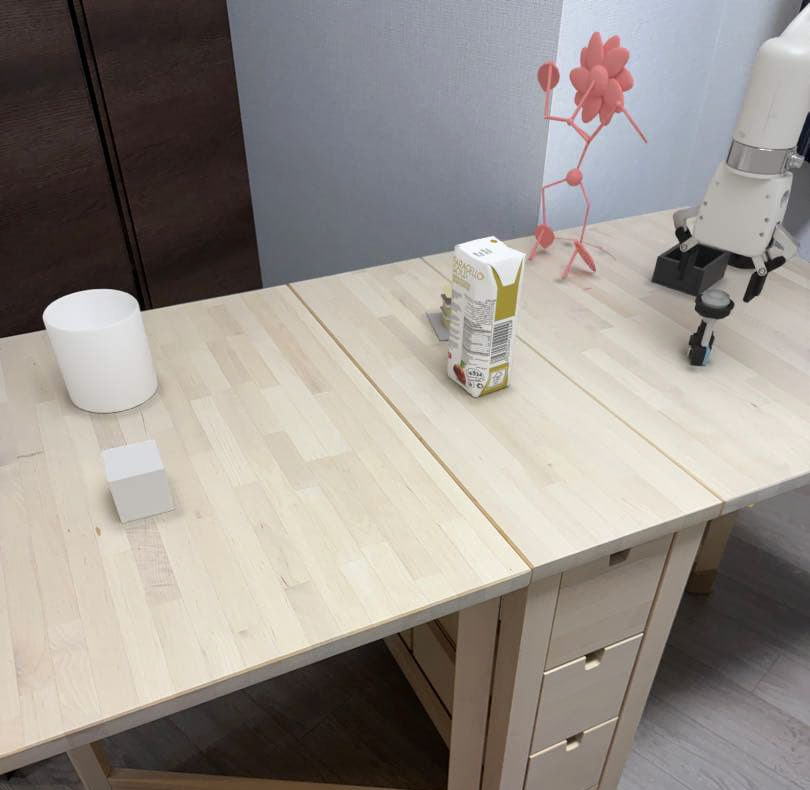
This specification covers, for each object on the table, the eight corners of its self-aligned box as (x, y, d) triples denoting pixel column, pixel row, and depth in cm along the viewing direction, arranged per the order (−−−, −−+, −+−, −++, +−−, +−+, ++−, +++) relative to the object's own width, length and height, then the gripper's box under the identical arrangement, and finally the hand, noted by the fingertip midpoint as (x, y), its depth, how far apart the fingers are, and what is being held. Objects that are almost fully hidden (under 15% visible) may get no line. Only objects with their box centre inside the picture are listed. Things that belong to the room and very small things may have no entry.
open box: (723, 276, 132) (731, 251, 129) (697, 296, 126) (704, 271, 123) (678, 263, 136) (685, 238, 133) (651, 281, 130) (657, 256, 127)
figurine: (593, 297, 126) (641, 55, 101) (497, 245, 141) (519, 23, 117) (656, 276, 132) (715, 43, 108) (558, 228, 147) (590, 15, 123)
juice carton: (474, 403, 102) (486, 268, 89) (439, 374, 107) (445, 243, 94) (517, 387, 105) (535, 255, 92) (481, 360, 110) (493, 231, 97)
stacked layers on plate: (439, 340, 114) (441, 307, 111) (426, 313, 121) (427, 281, 117) (502, 334, 116) (505, 301, 112) (485, 308, 122) (488, 276, 118)
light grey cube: (175, 509, 85) (164, 468, 81) (121, 523, 84) (107, 482, 79) (165, 479, 89) (154, 438, 85) (114, 491, 88) (100, 450, 83)
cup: (121, 359, 109) (99, 280, 101) (175, 385, 104) (157, 304, 96) (52, 394, 102) (22, 313, 94) (107, 423, 97) (81, 340, 89)
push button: (674, 343, 115) (693, 281, 108) (710, 346, 114) (730, 283, 107) (681, 365, 110) (700, 302, 103) (718, 368, 109) (740, 304, 103)
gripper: (839, 166, 91) (786, 299, 103) (706, 136, 99) (671, 262, 111) (818, 180, 87) (765, 317, 98) (681, 148, 95) (647, 278, 106)
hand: (715, 288), depth 105 cm, fingers open, 9 cm apart
